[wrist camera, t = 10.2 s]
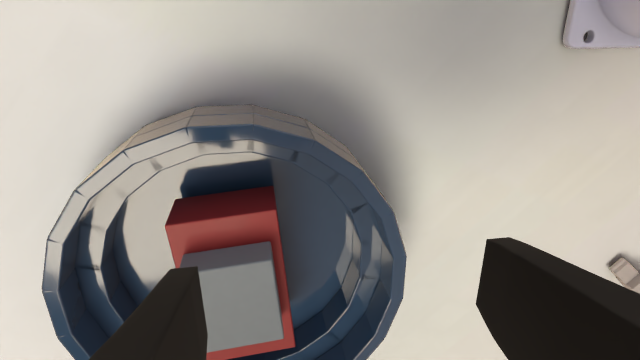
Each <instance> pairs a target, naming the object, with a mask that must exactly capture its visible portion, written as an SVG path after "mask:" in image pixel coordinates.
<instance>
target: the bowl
mask: <svg viewBox="0 0 640 360" xmlns="http://www.w3.org/2000/svg"><path fill="white" fill-rule="evenodd" d="M267 186H273V187H274V193H275V200H276V207H277V214H278V221H279V229H280V236H281V243H282V250H283V257H284V265H285V272H286V279H287V286H288V293H289V300H290V308H291V315H292V323H293V330H294V337H295V347H293V348H287V349H282V350H276V351H271V352H265V353H260V354H254V355H249V356H243V357H238V358H232V359H227V360H366V359H367V358H368V357H369V356H370V355H371V354H372V353H373V351H374V350H375V349H376V348H377V347H378V346H379V345H380V343H381V342H382V341H383V340H384V338H385V337H386V335H387V333H388V330H389V328H390V326H391V324H392V322H393V319H394V317H395V315H396V313H397V310H398V308H399V306H400V304H401V302H402V299H403V291H404V280H405V268H406V257H407V256H406V252H405V248H404V245H403V242H402V238H401V235H400V231H399V228H398V224H397V221H396V217H395V214H394V212H393V209H392V208H391V207H390V205H389V204H388V202H387V201H386V199H385V198H384V197H383V195H382V194H381V192H380V191H379V190H378V188H377V187H376V185H375V184H374V183H373V181H372V180H371V178H370V177H369V176H368V174H367V173H366V172H365V171H364V169H363V168H362V167H361V165H360V164H359V163H358V161H357V160H356V159H355V157H354V156H353V155H352V153H351V152H350V151H349V149H348V148H347V147H346V146H345V145H344V144H342V143H341V142H339V141H338V140H336V139H335V138H333V137H332V136H330V135H329V134H327V133H326V132H324V131H323V130H321V129H320V128H318V127H317V126H315V125H314V124H312V123H310V122H309V121H307V120H306V119H303V118H300V117H296V116H293V115H289V114H285V113H282V112H278V111H274V110H271V109H267V108H263V107H260V106H256V105H226V106H201V107H194V108H192V109H189V110H186V111H183V112H181V113H178V114H175V115H173V116H170V117H167V118H164V119H162V120H159V121H156V122H153V123H151V124H148V125H146V126H145V127H142V128H141V129H140V130H139V131H138V132H136V133H135V134H134V135H133V136H131V137H130V138H129V139H128V140H127V141H125V142H124V143H123V144H122V145H120V146H119V147H118V148H117V149H116V150H114V151H113V152H112V153H111V154H109V155H108V156H107V157H106V158H105V159H104V160H103V161H102V162H101V163H100V164H99V165H98V166H97V167H96V168H95V169H94V170H93V171H92V172H91V173H90V174H89V175H88V176H87V177H86V178H85V179H84V180H83V181H82V182H81V183H80V184H79V185H78V186H77V187H76V189H75V190H74V191H73V193H72V195H71V196H70V198H69V200H68V202H67V204H66V205H65V207H64V209H63V211H62V212H61V214H60V216H59V218H58V220H57V221H56V223H55V225H54V227H53V228H52V230H51V232H50V234H49V236H48V239H47V243H46V253H45V263H44V273H43V283H42V293H43V296H44V299H45V302H46V305H47V308H48V311H49V314H50V317H51V320H52V324H53V327H54V330H55V333H56V336H57V338H58V339H59V341H60V342H61V343H62V344H63V346H64V347H65V348H66V349H67V350H68V352H69V353H70V354H71V355H72V357H73V358H74V359H75V360H89V359H90V358H91V356H92V355H93V354H94V353H95V352H96V351H97V350H98V349H99V348H100V347H101V346H102V345H103V344H104V343H105V342H106V341H107V340H108V339H109V338H110V337H111V336H112V335H113V334H114V333H115V332H116V331H117V330H118V328H119V327H120V326H121V325H122V324H123V323H124V322H125V321H126V320H127V318H128V317H129V316H130V315H131V314H132V313H133V312H134V311H135V310H136V308H137V307H138V306H139V305H140V304H141V303H142V301H143V300H144V299H145V298H146V297H147V296H148V294H149V293H150V292H151V291H152V290H153V288H154V287H155V286H156V285H157V284H158V282H159V281H160V280H161V279H162V278H163V277H164V276H165V274H166V273H167V272H168V271H169V270H170V269H174V268H176V267H175V263H174V259H173V256H172V252H171V248H170V244H169V241H168V237H167V233H166V229H165V224H166V221H167V219H168V216H169V214H170V211H171V209H172V206H173V204H174V201H175V199H179V198H187V197H194V196H201V195H208V194H216V193H223V192H230V191H238V190H245V189H252V188H259V187H267Z"/></svg>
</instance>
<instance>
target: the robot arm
mask: <svg viewBox="0 0 640 360" xmlns="http://www.w3.org/2000/svg"><path fill="white" fill-rule="evenodd" d="M586 32H587V33H588V36H587V39H586V40H585V41H584V40H583V37H584V35H585V33H586ZM563 43H564V45H565V46H566V47H567V48H573V49H587V48H630V47H640V0H571V1H570V5H569V10H568V15H567V20H566V25H565V29H564V34H563ZM476 305H477V307H478V309H479V311H480V313H481V315H482V317H483V319H484V321H485V323H486V325H487V327H488V329H489V331H490V332H491V334H492V336H493V338H494V340H495V341H496V343H497V344H498V346H499V347H500V349H501V350H502V351H503V353H504V354H505V356H506V357H507V359H508V360H640V294H639V293H637V292H635V291H632V290H630V289H627V288H625V287H622V286H620V285H618V284H615V283H613V282H611V281H609V280H606V279H604V278H602V277H599V276H597V275H595V274H593V273H590V272H588V271H586V270H584V269H582V268H579V267H577V266H575V265H573V264H571V263H568V262H566V261H564V260H562V259H560V258H557V257H555V256H553V255H551V254H549V253H547V252H544V251H542V250H540V249H537V248H535V247H533V246H531V245H528V244H526V243H523V242H521V241H518V240H515V239H512V238H509V237H507V238H497V239H487V241H486V247H485V253H484V259H483V265H482V271H481V277H480V283H479V289H478V295H477V301H476ZM207 341H208V332H207V326H206V319H205V312H204V306H203V299H202V292H201V286H200V279H199V272H198V266H196V267H185V268H174V269H170V270H169V271H168V272H167V273H166V274H165V276H164V277H163V278H162V279H161V280H160V281H159V282H158V284H157V285H156V286H155V287H154V288H153V290H152V291H151V292H150V293H149V294H148V296H147V297H146V298H145V299H144V300H143V301H142V303H141V304H140V305H139V306H138V307H137V308H136V310H135V311H134V312H133V313H132V314H131V315H130V316H129V317H128V318H127V320H126V321H125V322H124V323H123V324H122V325H121V326H120V327H119V328H118V330H117V331H116V332H115V333H114V334H113V335H112V336H111V337H110V338H109V339H108V340H107V341H106V342H105V343H104V344H103V345H102V346H101V347H100V348H99V349H98V350H97V351H96V352H95V353H94V354H93V355H92V356H91V358H90V359H89V360H206V356H207Z"/></svg>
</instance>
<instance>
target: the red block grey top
mask: <svg viewBox="0 0 640 360" xmlns="http://www.w3.org/2000/svg"><path fill="white" fill-rule="evenodd" d="M165 229H166V233H167V237H168V241H169V244H170V248H171V252H172V256H173V259H174V263H175V267H176V268H185V267H196V266H198V272H199V279H200V286H201V292H202V299H203V306H204V312H205V319H206V326H207V332H208V341H207V356H206V360H227V359H232V358H238V357H243V356H249V355H254V354H260V353H265V352H271V351H276V350H282V349H287V348H293V347H295V337H294V330H293V323H292V315H291V308H290V300H289V293H288V286H287V279H286V272H285V265H284V257H283V250H282V243H281V236H280V229H279V221H278V214H277V207H276V200H275V193H274V187H273V186H267V187H259V188H252V189H245V190H238V191H230V192H223V193H216V194H208V195H201V196H194V197H187V198H179V199H175V201H174V204H173V206H172V209H171V211H170V214H169V216H168V219H167V221H166V224H165Z"/></svg>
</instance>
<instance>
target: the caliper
mask: <svg viewBox="0 0 640 360" xmlns="http://www.w3.org/2000/svg"><path fill="white" fill-rule="evenodd" d="M609 270H610V271H611V272H612V273H613V274H614V275H615V276H617V277H616V278H617V279H618V280H619V281H620V282H621V283H622V284H623V285H624V286H625V287H626V288H627V289H630V290H632V291H635V292H637V293H639V294H640V273H639V272H638V271H637V270H636V269H635V268H634V267H633V266H632V265H631V264H630V263H629V262H627V261H626V260H625V259H624V258H623V257H621V258H620V259H619V260H618V261H617V262H615V263H614V264H613V265H612V266H611V267H609Z"/></svg>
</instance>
